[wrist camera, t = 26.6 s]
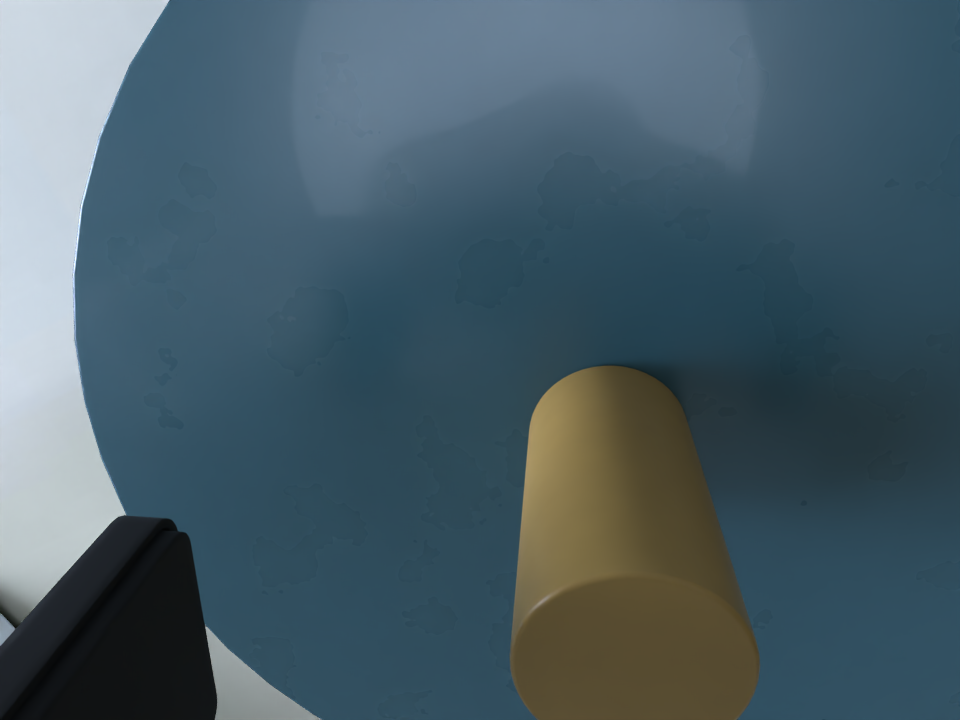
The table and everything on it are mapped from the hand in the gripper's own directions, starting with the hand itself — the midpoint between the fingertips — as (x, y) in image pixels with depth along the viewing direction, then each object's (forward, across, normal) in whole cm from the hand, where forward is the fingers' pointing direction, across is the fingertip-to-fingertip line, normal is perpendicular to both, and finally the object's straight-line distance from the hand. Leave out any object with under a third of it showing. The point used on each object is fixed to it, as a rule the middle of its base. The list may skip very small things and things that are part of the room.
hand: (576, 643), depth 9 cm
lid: (+5, -1, 0) cm, 5 cm away
